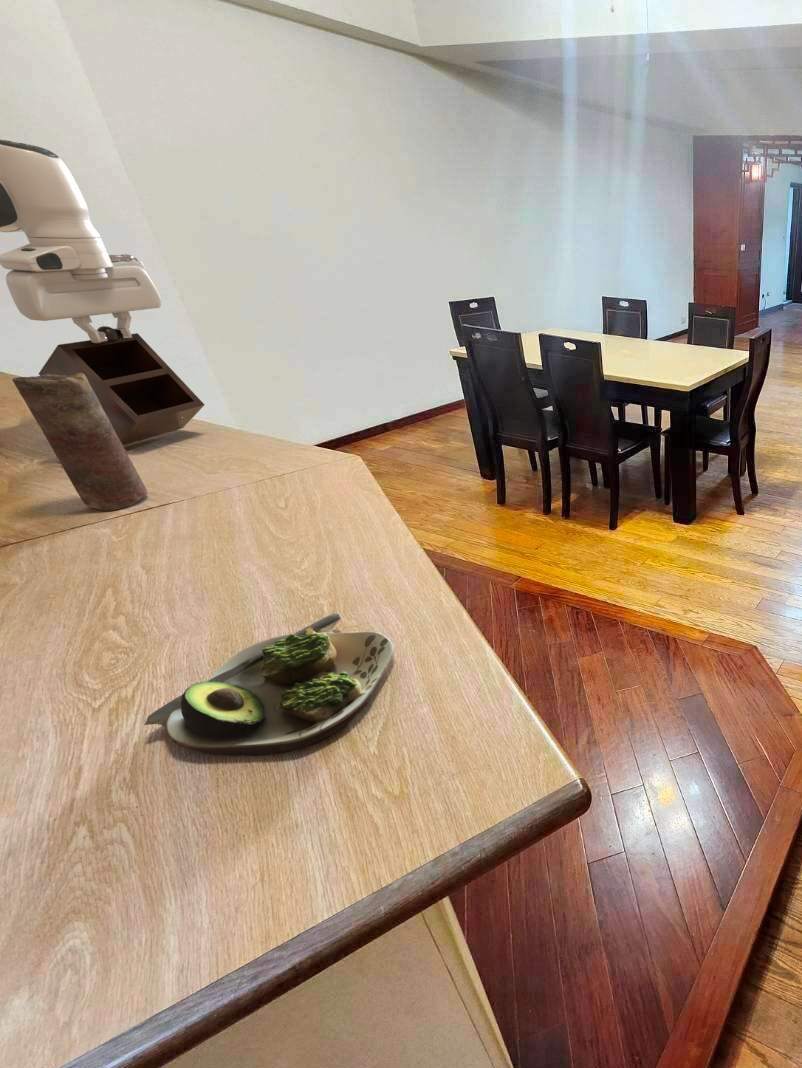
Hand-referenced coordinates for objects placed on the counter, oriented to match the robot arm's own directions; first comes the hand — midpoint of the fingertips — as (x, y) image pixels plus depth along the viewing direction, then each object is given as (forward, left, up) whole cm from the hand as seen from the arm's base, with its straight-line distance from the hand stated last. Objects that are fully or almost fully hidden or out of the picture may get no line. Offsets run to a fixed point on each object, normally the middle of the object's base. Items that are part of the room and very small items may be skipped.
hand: (112, 340), depth 108 cm
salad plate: (+83, -54, -19) cm, 101 cm away
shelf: (-7, 0, -12) cm, 14 cm away
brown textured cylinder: (+22, -24, -19) cm, 38 cm away
